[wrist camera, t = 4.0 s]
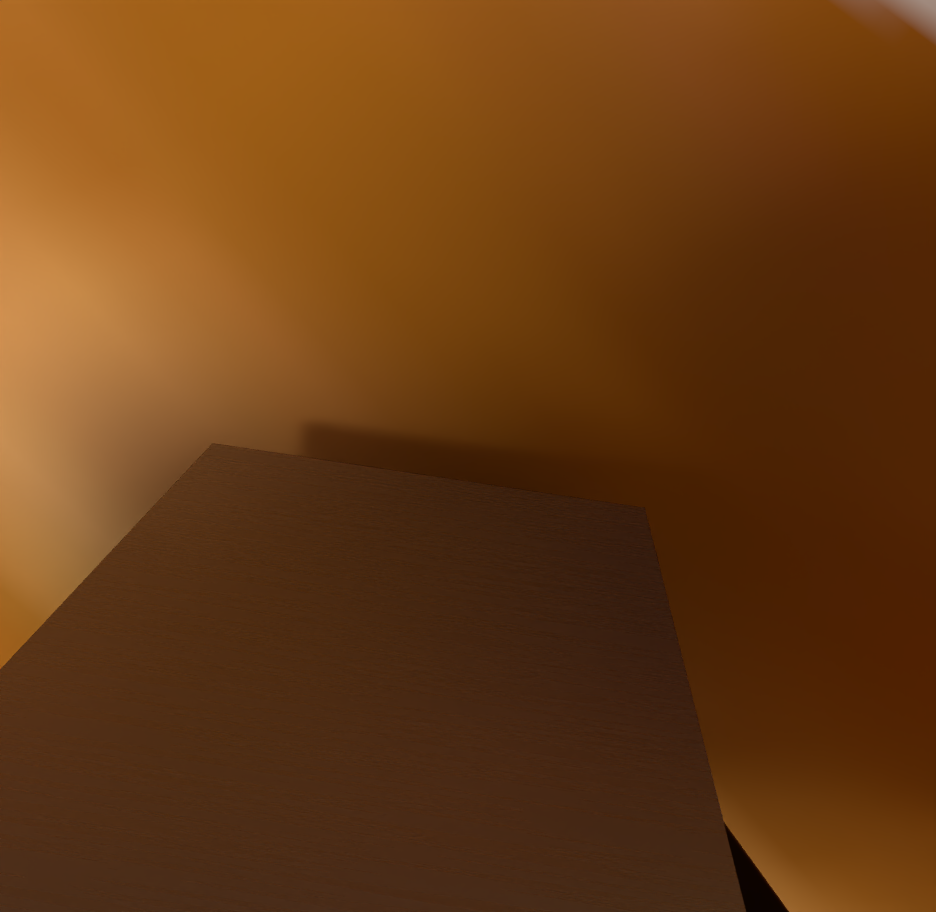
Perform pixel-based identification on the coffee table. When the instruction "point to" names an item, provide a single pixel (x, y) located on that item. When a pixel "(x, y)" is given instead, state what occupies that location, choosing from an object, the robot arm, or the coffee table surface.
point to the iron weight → (360, 708)
